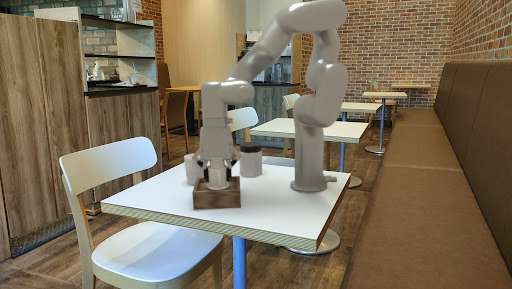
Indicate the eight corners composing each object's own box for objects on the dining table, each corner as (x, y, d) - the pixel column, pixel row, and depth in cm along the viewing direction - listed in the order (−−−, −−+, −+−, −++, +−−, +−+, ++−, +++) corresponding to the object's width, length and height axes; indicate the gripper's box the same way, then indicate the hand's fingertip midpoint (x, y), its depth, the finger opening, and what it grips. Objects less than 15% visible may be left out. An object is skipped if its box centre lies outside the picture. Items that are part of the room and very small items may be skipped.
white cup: (203, 186, 126) (202, 159, 123) (182, 185, 127) (180, 158, 125) (210, 179, 133) (209, 153, 131) (190, 178, 135) (189, 152, 132)
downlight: (205, 183, 115) (204, 153, 113) (227, 180, 117) (226, 151, 114) (208, 192, 108) (206, 160, 105) (231, 190, 109) (230, 158, 107)
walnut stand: (240, 191, 120) (239, 175, 119) (240, 208, 107) (240, 190, 105) (198, 193, 120) (197, 177, 118) (193, 209, 106) (192, 192, 105)
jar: (249, 179, 133) (249, 147, 130) (235, 174, 139) (234, 144, 136) (266, 173, 139) (266, 143, 137) (252, 169, 145) (251, 140, 142)
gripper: (243, 120, 112) (245, 175, 116) (187, 121, 111) (191, 177, 115) (244, 124, 104) (246, 183, 109) (184, 125, 104) (188, 185, 108)
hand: (217, 179), depth 112 cm, fingers closed on downlight, 5 cm apart
